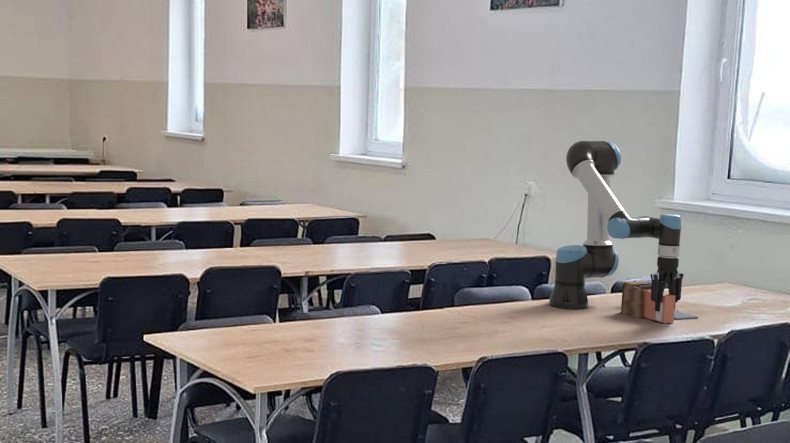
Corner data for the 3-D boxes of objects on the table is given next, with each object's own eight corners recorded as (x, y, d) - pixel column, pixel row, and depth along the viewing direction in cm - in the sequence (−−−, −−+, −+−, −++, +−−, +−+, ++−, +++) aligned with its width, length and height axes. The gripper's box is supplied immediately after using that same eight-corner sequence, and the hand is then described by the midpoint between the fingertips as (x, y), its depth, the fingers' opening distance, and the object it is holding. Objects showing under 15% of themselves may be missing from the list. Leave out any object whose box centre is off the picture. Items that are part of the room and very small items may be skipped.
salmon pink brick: (640, 316, 369) (642, 289, 368) (650, 315, 371) (652, 289, 370) (663, 323, 357) (665, 296, 356) (673, 322, 359) (675, 295, 358)
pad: (652, 312, 378) (652, 310, 378) (673, 311, 382) (673, 309, 382) (676, 319, 366) (676, 318, 366) (697, 318, 370) (697, 316, 370)
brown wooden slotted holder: (620, 312, 376) (622, 281, 375) (638, 311, 380) (640, 280, 379) (639, 317, 367) (641, 286, 365) (657, 316, 370) (659, 285, 369)
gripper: (655, 258, 351) (651, 323, 353) (694, 257, 358) (690, 320, 360) (642, 255, 357) (638, 318, 360) (680, 254, 365) (676, 316, 367)
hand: (664, 319), depth 360 cm, fingers closed on salmon pink brick, 4 cm apart
